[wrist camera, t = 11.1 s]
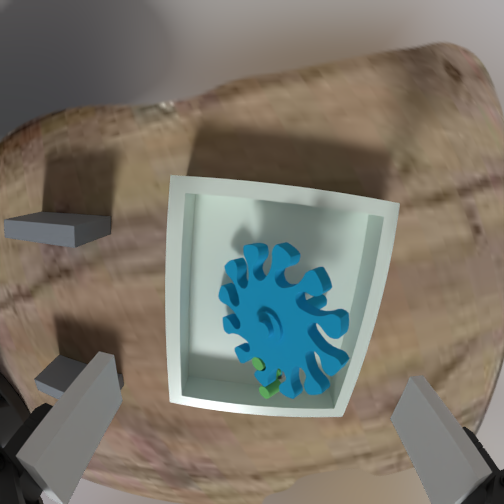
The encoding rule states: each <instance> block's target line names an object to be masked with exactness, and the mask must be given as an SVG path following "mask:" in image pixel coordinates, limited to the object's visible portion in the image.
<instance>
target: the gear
mask: <svg viewBox="0 0 504 504" xmlns="http://www.w3.org/2000/svg"><path fill="white" fill-rule="evenodd" d="M243 254H244V257H245V259H246V261H245V259H244V258H243V257H242V258H238V259H233V260H230V261H229V262H227V263H226V265H225V266H224V267H225V271H226V273H227V275H228V276H229V277H230V278H231V280H232V281H233V283H234V284H233V283H228V284H225V285H222V286H221V287H220V290H219V295H218V297H219V299H220V301H221V302H222V303H224V304H226V305H228V306H229V307H230V308H231V309H232V310H233V311H234V313H235V314H234V313H232V314H230V315H227V316H225V317H223V328H224V331H225V332H226V333H227V334H231V333H234V334H238V335H240V336H241V337H242V338H244V339H245V340H246V341H247V342H248V343H243V344H241V345H239V346H237V347H235V348H234V350H235V353H236V355H237V358H238V359H239V361H240V363H245V362H247V361H249V360H251V359H252V363H253V366H254V367H255V368H256V369H257V371H255V373H254V376H255V377H256V379H257V380H258V381H259V382H260V383H261V384H262V386H260V387H259V392H260V394H261V395H262V397H264V398H265V399H268V398H270V397H271V396H273V395H274V394H276V393H277V392H279V391H280V393H282V394H283V395H285V396H286V397H289V398H291V399H294V398H295V397H297V396H298V395H299V394H301V393H302V391H303V386H302V384H301V381H300V377H299V370H300V368H301V369H302V370H303V371H304V372H305V375H306V379H305V382H304V389H305V391H306V392H307V394H309V395H318V394H322V393H323V392H324V391H325V390H327V389H328V388H329V387H330V382H329V379H328V378H327V377H326V376H325V375H324V374H323V372H322V371H321V370H320V368H319V366H318V364H317V361H316V358H315V353H314V352H316V353H317V354H318V356H319V357H320V361H321V366H322V369H323V370H324V372H325V373H326V374H327V375H329V376H333V375H335V374H336V373H337V372H338V371H339V370H340V369H342V368H343V367H344V366H345V365H346V363H347V362H348V360H349V359H350V358H349V356H348V354H347V353H346V352H345V351H343V350H341V349H338V348H336V347H334V346H332V345H331V344H329V343H328V342H327V341H326V340H325V339H324V337H323V336H322V335H321V333H320V332H319V331H318V329H317V326H316V323H317V324H318V325H320V327H321V328H322V329H323V331H324V332H325V333H326V335H327V336H329V337H330V338H333V339H339V338H340V337H341V336H343V335H344V334H345V333H347V331H348V328H349V312H347V311H346V310H344V309H336V310H332V311H324V310H320V309H321V308H323V307H325V306H326V305H327V298H326V296H325V295H323V293H325V292H327V291H329V290H330V289H331V288H332V283H331V280H330V277H329V275H328V273H327V272H326V270H325V268H324V267H317V268H315V269H312V270H310V271H308V272H306V273H305V275H304V276H303V278H302V280H301V281H300V282H299V283H298V284H290V283H289V282H288V281H287V280H286V278H285V274H284V272H285V269H286V268H287V267H290V266H293V265H296V264H297V263H298V262H299V261H300V257H301V254H300V252H299V251H298V250H297V249H296V248H295V247H294V246H292V245H291V244H289V243H288V242H285V243H280V244H276V245H275V246H274V248H273V250H272V264H271V268H270V271H269V273H268V274H267V276H266V275H265V274H264V271H263V264H264V262H265V260H266V259H267V258H268V255H269V249H268V246H267V245H266V244H264V243H253V244H248V245H244V247H243ZM246 262H247V263H246ZM247 266H248V273H249V275H248V280H247ZM305 292H306V293H307V294H309V295H311V296H313V297H311V298H309V299H307V300H306V298H305ZM284 377H286V380H285V381H284V382H283V383H281V382H280V381H279V380H278V379H283V378H284Z"/></svg>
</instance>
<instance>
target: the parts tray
mask: <svg viewBox="0 0 504 504" xmlns="http://www.w3.org/2000/svg"><path fill="white" fill-rule="evenodd" d="M399 206H400V203H395V202H390V201H385V200H380V199H374V198H369V197H363V196H357V195H351V194H345V193H339V192H332V191H325V190H319V189H312V188H304V187H297V186H289V185H281V184H272V183H263V182H253V181H243V180H232V179H221V178H208V177H193V176H176V175H171V177H170V189H169V203H168V219H167V239H166V276H165V311H166V347H167V367H168V382H169V395H170V402H172V403H177V404H183V405H188V406H194V407H200V408H206V409H213V410H220V411H227V412H236V413H245V414H256V415H269V416H288V417H342V416H343V414H344V412H345V409H346V407H347V404H348V402H349V399H350V397H351V394H352V392H353V389H354V386H355V383H356V381H357V378H358V375H359V372H360V370H361V367H362V364H363V361H364V358H365V355H366V352H367V348H368V345H369V342H370V339H371V336H372V332H373V329H374V325H375V322H376V318H377V315H378V311H379V307H380V303H381V299H382V295H383V291H384V287H385V283H386V278H387V274H388V269H389V264H390V259H391V254H392V249H393V244H394V238H395V232H396V226H397V220H398V213H399ZM285 242H288V243H289V244H291V245H292V246H294V247H295V248H296V249H297V250H298V251H299V252H300V254H301V257H300V261H299V262H298V263H297V264H296V265H293V266H290V267H287V268H286V269H285V272H284V274H285V278H286V280H287V281H288V282H289V283H290V284H298V283H299V282H300V281H301V280H302V278H303V276H304V275H305V273H306V272H308V271H310V270H312V269H315V268H317V267H324V268H325V270H326V272H327V273H328V275H329V277H330V280H331V283H332V288H331V289H330V290H329V291H327V292H325V293H323V295H325V296H326V298H327V305H326V306H325V307H323V308H321V309H320V310H324V311H332V310H336V309H344V310H346V311H347V312H349V328H348V331H347V333H345V334H344V335H343V336H341V337H340V338H339V339H333V338H330V337H329V336H327V335H326V333H325V332H324V331H323V329H322V328H321V327H320V325H318V324H317V323H316V326H317V329H318V331H319V332H320V333H321V335H322V336H323V337H324V339H325V340H326V341H327V342H328V343H329V344H331V345H332V346H334V347H336V348H338V349H341V350H343V351H345V352H346V353H347V354H348V356H349V358H350V359H349V360H348V362H347V363H346V365H345V366H344V367H343V368H342V369H340V370H339V371H338V372H337V373H336V374H335V375H333V376H329V375H327V374H326V373H325V372H324V370H323V369H322V366H321V361H320V357H319V356H318V354H317V353H316V352H314V353H315V358H316V361H317V364H318V366H319V368H320V370H321V371H322V372H323V374H324V375H325V376H326V377H327V378H328V379H329V382H330V387H329V388H328V389H327V390H325V391H324V392H323V393H322V394H318V395H309V394H307V392H306V391H305V389H304V382H305V379H306V375H305V372H304V371H303V370H302V369H301V368H300V370H299V377H300V381H301V384H302V386H303V391H302V393H301V394H299V395H298V396H297V397H295V398H294V399H291V398H289V397H286V396H285V395H283V394H282V393H280V391H279V392H277V393H276V394H274V395H273V396H271V397H270V398H268V399H265V398H264V397H262V395H261V394H260V392H259V387H260V386H262V384H261V383H260V382H259V381H258V380H257V379H256V377H255V376H254V373H255V371H257V369H256V368H255V367H254V366H253V363H252V359H251V360H249V361H247V362H245V363H240V361H239V359H238V358H237V355H236V353H235V350H234V348H235V347H237V346H239V345H241V344H243V343H248V342H247V341H246V340H245V339H244V338H242V337H241V336H240V335H238V334H234V333H231V334H227V333H226V332H225V331H224V328H223V317H225V316H227V315H230V314H232V313H234V311H233V310H232V309H231V308H230V307H229V306H228V305H226V304H224V303H222V302H221V301H220V299H219V297H218V295H219V290H220V287H221V286H222V285H225V284H228V283H233V281H232V280H231V278H230V277H229V276H228V275H227V273H226V271H225V267H224V266H225V265H226V263H227V262H229V261H230V260H233V259H238V258H242V257H243V258H244V259H245V257H244V254H243V247H244V245H248V244H253V243H264V244H266V245H267V246H268V249H269V255H268V258H267V259H266V260H265V262H264V264H263V271H264V274H265V275H266V276H267V274H268V273H269V271H270V268H271V264H272V250H273V248H274V246H275V245H276V244H280V243H285ZM245 261H246V259H245ZM246 263H247V262H246ZM248 275H249V273H248V266H247V280H248ZM233 284H234V283H233ZM311 297H313V296H311V295H309V294H307V293H306V292H305V298H306V300H307V299H309V298H311ZM234 314H235V313H234ZM278 380H279V381H280V382H281V383H283V382H284V381H285V380H286V377H284V378H283V379H278Z"/></svg>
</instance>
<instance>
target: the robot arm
mask: <svg viewBox="0 0 504 504" xmlns="http://www.w3.org/2000/svg"><path fill="white" fill-rule="evenodd" d="M121 403H122V396H121V391H120V386H119V381H118V376H117V370H116V364H115V358H114V355H112V354H108V353H104V352H100V351H99V352H98V353H97V354H96V355H95V357H94V358H93V359H92V360H91V361H90V362H89V364H88V365H87V366H86V367H85V368H84V369H83V371H82V372H81V373H80V374H79V375H78V377H77V378H76V379H75V380H74V381H73V383H72V384H71V385H70V386H69V388H68V389H67V390H66V391H65V392H64V394H63V395H62V396H61V397H60V399H59V400H58V401H57V402H56V404H55V405H54V406H52V405H49V404H47V403H44V404H43V405H41V406H39V407H37V408H35V410H34V411H33V412H32V413H31V414H29V412H28V410H27V408H26V406H25V405H24V403H23V402H22V400H21V399H20V397H19V396H18V394H17V393H16V392H15V390H14V389H13V388H12V386H11V385H10V384H9V383H8V381H7V380H6V379H5V378H4V377H3V376H2V375H1V373H0V504H43V501H42V498H41V497H40V495H41V493H42V491H43V492H44V493H45V494H46V495H47V496H48V497H49V498H50V499H52V500H54V501H56V502H58V503H59V504H68V502H69V500H70V499H71V496H72V495H73V493H74V491H75V489H76V487H77V485H78V483H79V481H80V479H81V477H82V475H83V473H84V471H85V469H86V467H87V465H88V463H89V461H90V460H91V458H92V456H93V454H94V452H95V450H96V448H97V446H98V444H99V443H100V441H101V439H102V437H103V435H104V433H105V432H106V430H107V428H108V426H109V424H110V422H111V421H112V419H113V417H114V415H115V413H116V412H117V410H118V408H119V406H120V405H121ZM390 419H391V421H392V423H393V425H394V427H395V429H396V431H397V433H398V435H399V437H400V439H401V441H402V443H403V445H404V447H405V449H406V451H407V453H408V455H409V457H410V459H411V461H412V463H413V465H414V467H415V469H416V471H417V474H418V476H419V478H420V480H421V482H422V484H423V486H424V489H425V491H426V493H427V495H428V497H429V499H430V502H431V504H504V469H503V470H501V471H500V470H499V469H498V468H497V466H496V465H495V463H494V462H493V460H492V459H491V458H490V456H489V454H488V453H487V451H486V450H485V449H484V448H483V446H482V444H481V443H480V442H478V441H479V440H478V439H477V437H476V436H475V435H474V433H473V432H471V431H470V430H469V429H467V428H466V427H463V428H462V427H461V426H460V424H459V423H458V421H457V420H456V419H455V417H454V416H453V415H452V413H451V412H450V411H449V409H448V408H447V407H446V405H445V404H444V403H443V401H442V400H441V399H440V397H439V396H438V395H437V393H436V392H435V391H434V389H433V388H432V387H431V385H430V384H429V383H428V382H427V380H426V379H425V378H424V376H423V375H422V376H413V377H410V378H409V381H408V383H407V385H406V387H405V390H404V392H403V394H402V396H401V398H400V400H399V402H398V404H397V406H396V408H395V410H394V412H393V414H392V416H391V418H390Z"/></svg>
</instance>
